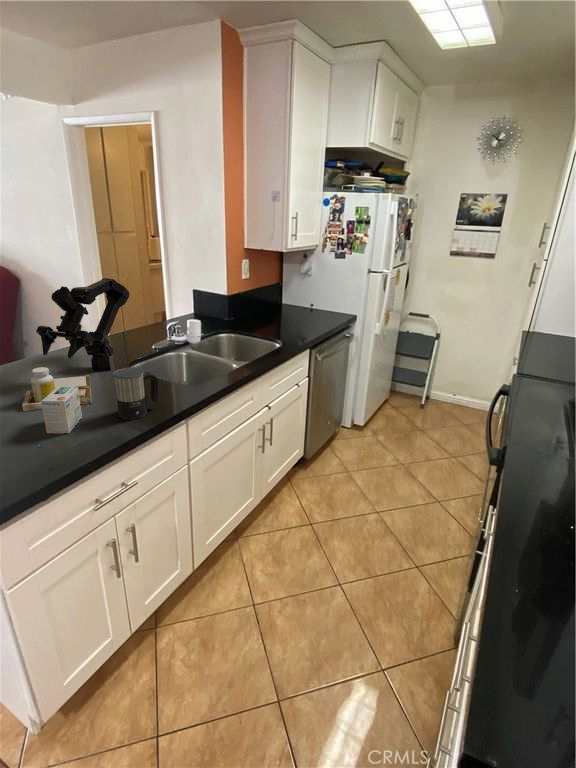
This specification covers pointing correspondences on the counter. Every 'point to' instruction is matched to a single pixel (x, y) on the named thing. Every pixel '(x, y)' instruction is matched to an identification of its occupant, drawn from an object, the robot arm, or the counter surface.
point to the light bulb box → (61, 409)
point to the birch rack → (38, 405)
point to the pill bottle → (41, 383)
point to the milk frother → (133, 392)
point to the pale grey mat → (70, 382)
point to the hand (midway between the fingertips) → (56, 356)
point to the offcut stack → (82, 393)
